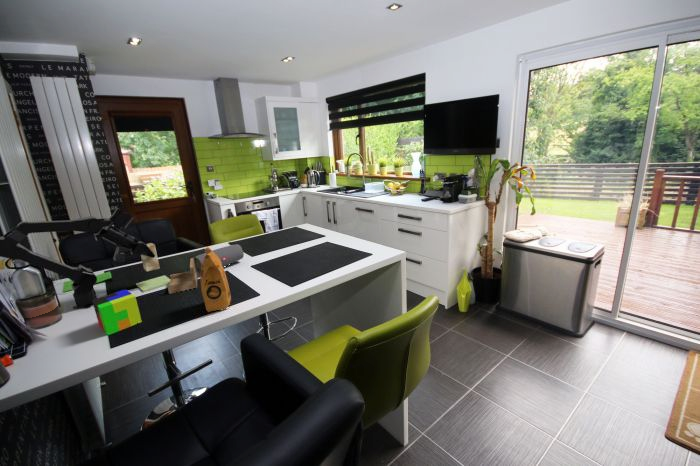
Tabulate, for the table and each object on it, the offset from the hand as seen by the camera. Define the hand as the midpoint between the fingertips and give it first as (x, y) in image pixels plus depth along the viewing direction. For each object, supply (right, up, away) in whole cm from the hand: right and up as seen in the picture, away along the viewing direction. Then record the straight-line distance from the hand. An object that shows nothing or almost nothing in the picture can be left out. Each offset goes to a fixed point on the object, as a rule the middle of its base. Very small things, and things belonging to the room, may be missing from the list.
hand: (152, 255), depth 141 cm
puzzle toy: (+8, -22, -30) cm, 38 cm away
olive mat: (-1, -13, +3) cm, 13 cm away
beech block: (-1, -6, 0) cm, 6 cm away
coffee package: (+38, -18, -20) cm, 46 cm away
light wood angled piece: (+14, -13, -1) cm, 20 cm away
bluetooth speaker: (+23, -8, +19) cm, 31 cm away
